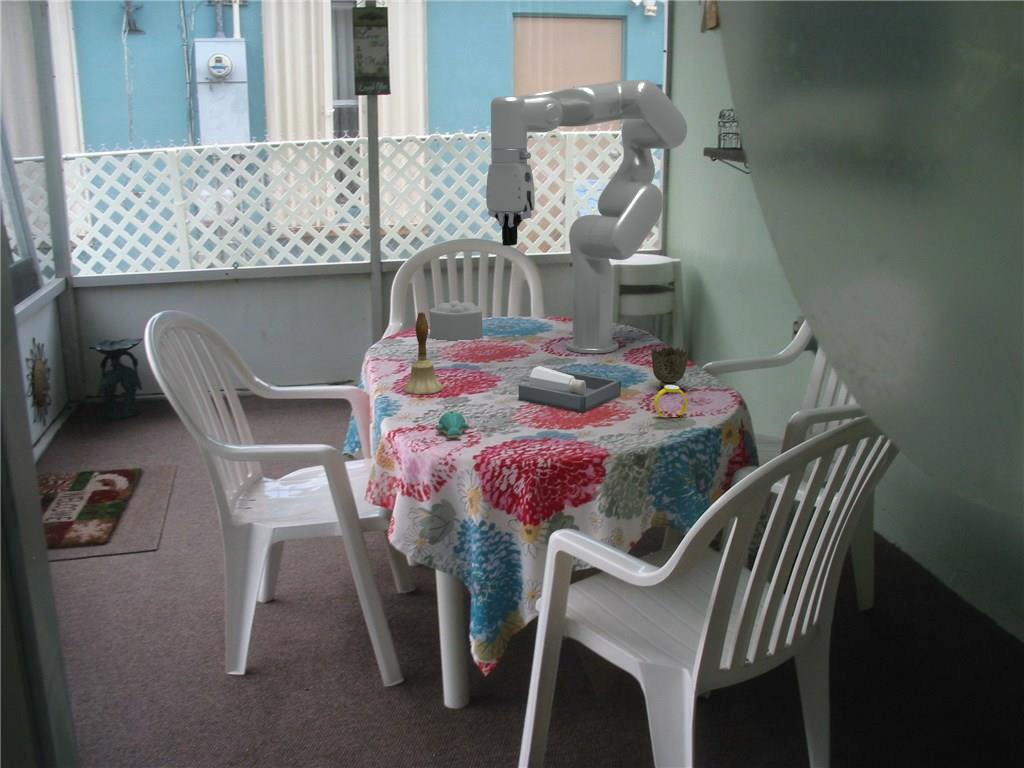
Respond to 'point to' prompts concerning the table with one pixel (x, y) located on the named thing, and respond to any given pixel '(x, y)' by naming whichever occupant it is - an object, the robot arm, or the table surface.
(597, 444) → the table surface
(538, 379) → the pepper shaker
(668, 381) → the cup
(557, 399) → the tray
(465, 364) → the table surface
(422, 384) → the hand bell
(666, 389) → the watch
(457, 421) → the whale figurine
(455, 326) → the lumpy-topped squat cylinder
